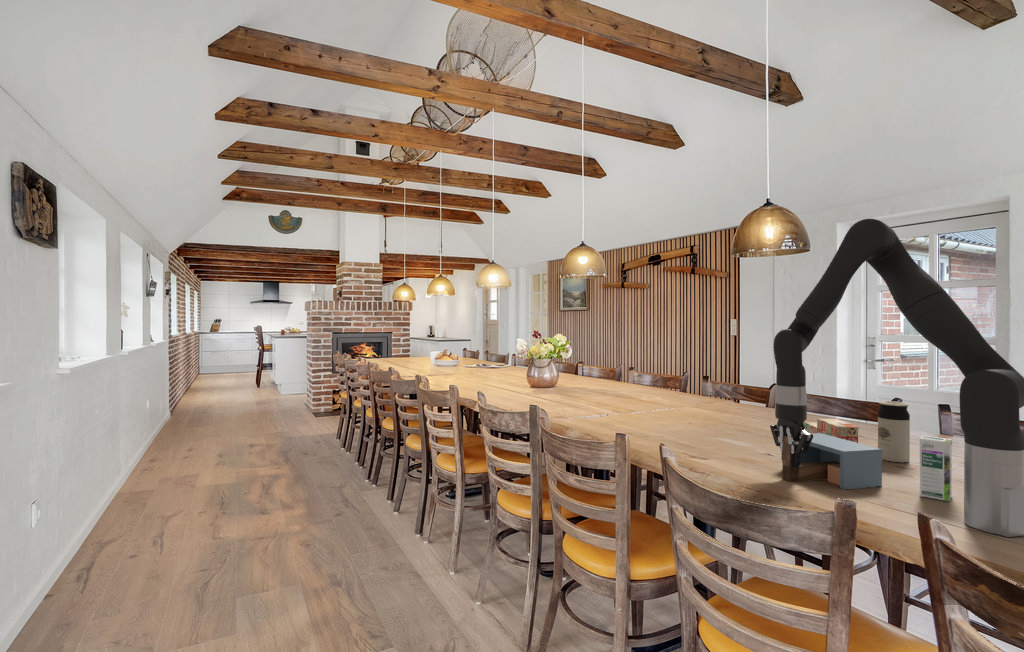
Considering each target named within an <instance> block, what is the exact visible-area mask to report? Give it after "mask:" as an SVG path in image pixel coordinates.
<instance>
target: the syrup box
mask: <svg viewBox="0 0 1024 652" xmlns="http://www.w3.org/2000/svg"><path fill="white" fill-rule="evenodd" d="M952 443H953V442H952V438H943V437H935V436H928V435H922V436H921V437H920V438H919V496H920V497H922V498H928V499H933V500H939V501H943V502H948V503H949V502H950V500H951V498H952V495H953V494H952V493H953V492H952V488H953V487H952V485H953V484H952V481H953V480H952V478H953V477H952V476H953V475H952V472H953V471H952V469H953V468H952V466H953V463H952V461H953V459H952V455H953V454H952V452H953V451H952V450H953V449H952Z"/></svg>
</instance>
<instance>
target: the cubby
mask: <svg viewBox="0 0 1024 652" xmlns="http://www.w3.org/2000/svg"><path fill="white" fill-rule="evenodd" d="M802 448H803V447H802ZM831 461H836V462H839V463H840V485H839V489H841V490H844V491H845V490H855V489H866V488H867V487H870V488H877V487H876V486H882V487H883V460H882V449H879V448H878V447H875V446H871V445H867V444H863V443H860V442H858V443H856V442H852V441H848V440H845V439H841V438H837V437H833V436H829V435H825V434H822V433H814V434H813V439H812V441H811V443H810V446H809V448H808V450H807V452H804V453H801V454H800V463H815V462H831ZM867 489H868V488H867Z"/></svg>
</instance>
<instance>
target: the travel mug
mask: <svg viewBox="0 0 1024 652" xmlns="http://www.w3.org/2000/svg"><path fill="white" fill-rule="evenodd" d="M878 404H879V406H880V408H879V409H878V411H877V448H879V449H882V461H885V460H886V462H889V461H891V462H890V463H896V462H900V463H899V464H903V463H904V462H906V463H909V462H910V459H911V457H910V452H911V451H910V450H911V449H910V444H911V443H910V437H911V435H910V432H911V431H910V430H911V429H910V427H911V422H910V421H911V420H910V416H911V415H910V413H909V411H908V407H909V406H910V405H909V403H907V402H901V401H891V400H881V401H880V400H879V402H878Z"/></svg>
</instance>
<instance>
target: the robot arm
mask: <svg viewBox="0 0 1024 652" xmlns="http://www.w3.org/2000/svg"><path fill="white" fill-rule="evenodd" d="M841 241H842V242H841V243H840V245H839V247H838V249H837V250H836V252H835V254H834V256H833V258H832V260H831V261H830V263H829V265H828V267H827V269H826V270H825V271H824V273H823V275H822V276H821V278H820V279H819V281H818V282H817V283H816V285H815V287H814V288H813V289H812V290H811V292H810V293H809V294H808V296H807V297H806V298H805V300H804V301H803V302H802V303H801V305H800V306H799V307H798V309H797V310H796V312H795V317H794V319H793V321H792V322H791V323H790V325H788V327H787V328H786V329H785V328H784V329H782V330H780V331H779V332H777V333H776V335H775V337H774V338H773V339H774V340H773V354H774V360H775V366H776V381H775V383H776V386H775V394H774V396H775V397H774V398H775V399H774V400H775V403H774V406H775V407H774V409H775V410H774V412H775V413H774V416H775V418H776V419H777V422H776V424H771V425H770V426H769V427H770V431H771V434H772V437H773V441H774V444H775V446H776V447H779V449H780V450H781V463H782V464H783V436H788V443H789V444H790V445H791V467H799V465H800V454H801V453H804V452H807V450H808V448H809V446H810V443H811V441H812V439H813V434H809V433H807V432H806V431H805V427H804V422H806V421H807V419H808V418H807V417H808V415H807V413H808V407H807V406H808V405H807V404H808V403H807V402H808V394H807V388H806V386H807V385H806V383H807V381H806V379H807V373H806V368H805V366H804V365H803V352H804V351H805V350H806V349H807V348H808V347H809V346H810V344H811V343H812V341H813V340H814V338H815V337H816V335H817V333H818V332H819V329H821V327H822V326H823V325H824V324H825V322H826V321H827V320H828V318H830V317H831V315H832V314H833V312H834V311H835V309H836V308H837V307H838V305H839V304H840V303H841V301H842V299H843V296H844V294H845V292H846V289H847V288H848V285H849V283H850V282H851V280H852V278H853V277H854V275H855V273H856V272H857V271H858V270H859V268H860V267H861V266H862V265H863V264H864V263H865V262H866V263H867V264H869V265H870V267H871V268H873V270H875V272H877V274H878V275H879V276H880V277H881V278H882V280H883V281H884V282H885V284H886V286H887V288H888V290H889V293H890V295H891V297H892V299H893V301H894V303H895V305H896V307H897V308H898V309H899V311H900V313H901V314H902V315H903V317H905V319H906V320H907V322H909V324H910V325H911V326H912V327H913V328H914V330H915V331H916V332H917V333H918V334H919V335H920V336H922V337H923V338H924V339H925V340H926V341H927V342H929V343H931V345H933V346H935V347H936V348H937V349H938V350H939V351H941V352H942V353H943V354H944V355H946V356H947V357H949V359H950V360H951V361H952V362H953V363H954V364H955V365H956V367H957V368H958V369H959V370H960V372H961V374H963V376H964V378H963V380H962V382H961V383H960V387H959V419H960V422H959V423H960V427H961V430H962V432H963V436H964V441H963V442H964V457H963V458H964V459H963V461H964V463H963V469H964V471H963V473H964V474H963V476H964V478H963V479H964V480H963V482H964V483H963V485H964V486H963V488H964V489H963V491H964V492H963V504H964V505H963V522H964V523H965V524H966V525H967V526H969V527H971V528H974V529H975V530H978V531H981V532H982V531H983V532H985V533H990V534H994V535H998V536H1004V537H1005V538H1013V537H1022V536H1023V537H1024V433H1023V432H1022V430H1021V426H1020V425H1021V423H1020V409H1022V408H1023V407H1024V376H1023V375H1022V374H1021V373H1020V372H1019V371H1018V370H1016V369H1015V368H1014V367H1013V366H1012V365H1011V364H1010V363H1009V362H1008V361H1006V360H1005V358H1003V356H1001V354H999V353H998V352H997V351H996V350H995V349H994V348H993V347H992V346H991V345H990V344H989V343H988V342H987V341H986V339H985V338H984V337H983V336H982V334H981V333H980V331H979V329H977V328H976V327H977V326H975V325H974V323H973V322H972V321H971V320H970V319H969V317H968V316H967V315H966V313H965V312H964V311H963V310H962V309H961V308H960V306H959V305H958V304H957V302H956V301H955V300H954V299H953V298H952V297H951V295H950V294H949V293H948V292H947V291H946V290H945V289H944V288H943V287H942V286H941V285H940V284H939V283H938V282H937V281H936V280H935V279H934V278H933V277H932V276H931V275H930V274H929V273H928V272H926V271H925V269H924V268H922V267H921V266H920V265H919V264H918V263H916V261H915V260H914V259H913V258H912V256H911V255H910V254H909V252H908V251H907V249H906V248H905V246H904V244H903V243H902V241H901V240H900V238H899V236H898V235H897V233H896V231H895V230H894V229H893V228H892V227H890V226H889V225H888V224H887V223H885V222H884V221H882V220H880V219H877V218H873V217H872V218H871V217H870V218H863V219H860V220H859V221H857V222H855V223H853V224H852V225H851V226H850V228H849V229H848V230H847V232H846V234H845V236H844V237H843V239H842V240H841ZM793 440H798V441H793ZM795 445H797V448H796V449H795ZM802 447H803V448H802Z"/></svg>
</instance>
